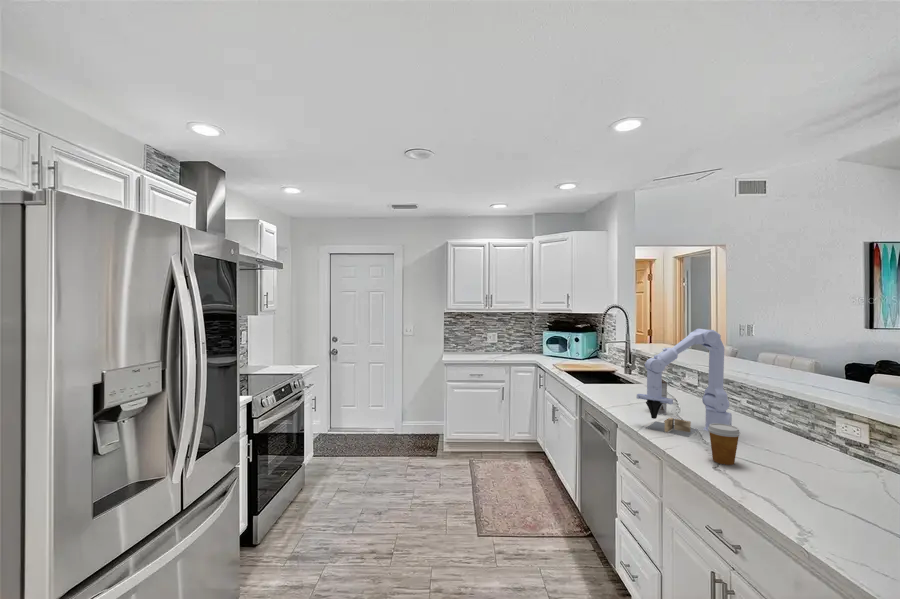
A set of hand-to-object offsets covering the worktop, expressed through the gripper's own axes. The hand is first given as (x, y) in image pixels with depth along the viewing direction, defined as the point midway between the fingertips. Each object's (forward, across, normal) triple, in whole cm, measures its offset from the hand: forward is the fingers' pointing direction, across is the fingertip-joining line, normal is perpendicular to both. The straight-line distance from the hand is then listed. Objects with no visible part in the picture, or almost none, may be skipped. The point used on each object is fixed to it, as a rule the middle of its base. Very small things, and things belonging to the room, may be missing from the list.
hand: (654, 418), depth 184 cm
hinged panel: (+4, +5, +3) cm, 7 cm away
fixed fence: (+5, +9, +7) cm, 12 cm away
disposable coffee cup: (+5, +32, -19) cm, 37 cm away
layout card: (+5, +5, +6) cm, 9 cm away
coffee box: (+5, -12, +33) cm, 35 cm away
